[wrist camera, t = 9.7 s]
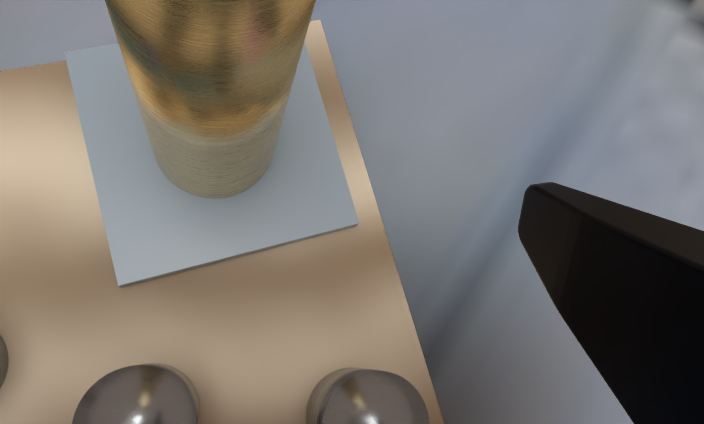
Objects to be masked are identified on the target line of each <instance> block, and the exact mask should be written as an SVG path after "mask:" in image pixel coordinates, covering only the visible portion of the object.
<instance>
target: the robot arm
mask: <svg viewBox="0 0 704 424" xmlns="http://www.w3.org/2000/svg"><path fill="white" fill-rule="evenodd" d="M518 233H519V237H520V240H521V242H522V244H523V246H524V248H525V250H526V252H527V254H528V256H529V258H530V259H531V261H532V263H533V265H534V267H535V269H536V271H537V273H538V275H539V276H540V278H541V280H542V282H543V284H544V286H545V288H546V290H547V292H548V293H549V295H550V297H551V299H552V301H553V303H554V304H555V306H556V308H557V310H558V311H559V313H560V314H561V316H562V318H563V319H564V321H565V322H566V324H567V325H568V327H569V328H570V330H571V331H572V333H573V334H574V336H575V337H576V339H577V340H578V341H579V343H580V344H581V346H582V347H583V349H584V350H585V352H586V353H587V355H588V356H589V358H590V359H591V361H592V362H593V364H594V365H595V367H596V368H597V370H598V371H599V373H600V374H601V375H602V377H603V378H604V380H605V381H606V383H607V384H608V386H609V387H610V389H611V390H612V392H613V393H614V395H615V396H616V398H617V399H618V401H619V402H620V404H621V405H622V407H623V408H624V410H625V411H626V412H627V414H628V415H629V417H630V418H631V420H632V421H633V423H634V424H704V231H702V230H698V229H695V228H692V227H689V226H686V225H683V224H680V223H677V222H674V221H671V220H668V219H665V218H661V217H658V216H655V215H652V214H649V213H646V212H643V211H640V210H637V209H634V208H631V207H628V206H624V205H621V204H618V203H615V202H612V201H609V200H606V199H603V198H600V197H597V196H594V195H591V194H587V193H584V192H581V191H578V190H575V189H572V188H569V187H566V186H563V185H560V184H557V183H553V182H546V183H540V184H533V185H530V186H529V187H528V188H527V189H526V191H525V194H524V199H523V204H522V209H521V214H520V219H519V225H518Z"/></svg>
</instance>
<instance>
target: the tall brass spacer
mask: <svg viewBox="0 0 704 424" xmlns="http://www.w3.org/2000/svg"><path fill="white" fill-rule="evenodd" d="M105 2H106V5H107V8H108V11H109V15H110V18H111V21H112V24H113V27H114V30H115V34H116V37H117V40H118V43H119V46H120V49H121V52H122V56H123V59H124V62H125V65H126V68H127V71H128V74H129V78H130V81H131V84H132V87H133V90H134V93H135V96H136V100H137V103H138V106H139V109H140V112H141V115H142V118H143V122H144V125H145V128H146V131H147V134H148V137H149V140H150V144H151V147H152V150H153V153H154V156H155V159H156V162H157V164H158V166H159V168H160V169H161V171H162V172H163V174H164V175H165V176H166V177H167V178H168V180H169V181H171V182H172V183H173V184H174V185H175V186H177V187H178V188H180V189H181V190H183V191H185V192H187V193H189V194H192V195H195V196H199V197H203V198H212V199H214V198H226V197H230V196H234V195H237V194H239V193H242V192H244V191H246V190H247V189H249V188H250V187H252V186H253V185H254V184H256V183H257V182H258V181H259V180H260V179H261V177H262V176H263V175H264V173H265V172H266V170H267V168H268V167H269V165H270V162H271V159H272V156H273V152H274V149H275V145H276V142H277V138H278V134H279V131H280V127H281V124H282V120H283V116H284V113H285V109H286V106H287V102H288V99H289V95H290V91H291V88H292V84H293V81H294V77H295V73H296V70H297V66H298V63H299V59H300V55H301V52H302V48H303V45H304V41H305V37H306V34H307V30H308V27H309V23H310V19H311V16H312V12H313V9H314V5H315V2H316V0H105Z"/></svg>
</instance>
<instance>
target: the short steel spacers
mask: <svg viewBox="0 0 704 424" xmlns="http://www.w3.org/2000/svg"><path fill="white" fill-rule="evenodd" d="M8 364H9V357H8V350H7V346H6V344H5V341H4V339H3V338H2V336H1V334H0V388H1V386H2V385H3V382H4V380H5V378H6V374H7V371H8ZM199 418H200V401H199V396H198V393H197V390H196V388H195V386H194V385H193V383H192V382H191V380H190V379H189V378H188V377H187V376H186V375H185V374H184V373H183V372H181V371H180V370H178V369H177V368H174V367H172V366H169V365H166V364H161V363H147V364H140V365H134V366H128V367H124V368H120V369H117V370H115V371H112V372H110V373H109V374H107V375H105V376H104V377H102V378H100V379H99V380H98V381H97V382H96V383H94V384H93V385H92V386H91V387H90V388H89V389H88V391H87V392H86V393H85V394H84V396H83V397H82V399H81V401H80V402H79V404H78V406H77V408H76V411H75V413H74V417H73V421H72V424H198V423H199ZM306 424H430V421H429V415H428V411H427V407H426V405H425V402H424V400H423V398H422V396H421V395H420V393H419V392H418V391H417V389H416V388H415V387H414V386H413V385H412V384H411V383H410V382H408V381H407V380H406V379H404V378H403V377H401V376H399V375H397V374H394V373H391V372H387V371H381V370H372V369H363V368H350V367H349V368H342V369H338V370H336V371H333V372H331V373H330V374H328V375H326V376H325V377H324V378H322V379H321V380H320V381H319V382H318V384H317V385H316V386H315V387H314V389H313V391H312V392H311V395H310V397H309V399H308V403H307V407H306Z"/></svg>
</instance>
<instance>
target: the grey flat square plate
mask: <svg viewBox="0 0 704 424" xmlns="http://www.w3.org/2000/svg"><path fill="white" fill-rule="evenodd" d="M64 53H65V57H66V62H67V66H68V70H69V75H70V79H71V83H72V88H73V92H74V96H75V101H76V105H77V109H78V114H79V118H80V122H81V127H82V131H83V135H84V140H85V144H86V148H87V153H88V157H89V161H90V166H91V170H92V174H93V179H94V183H95V187H96V192H97V196H98V200H99V205H100V209H101V213H102V218H103V222H104V227H105V231H106V235H107V240H108V244H109V248H110V253H111V257H112V261H113V266H114V270H115V274H116V279H117V283H118V286H119V287H121V288H122V287H126V286H130V285H134V284H137V283H141V282H145V281H149V280H153V279H157V278H160V277H164V276H168V275H172V274H176V273H180V272H183V271H187V270H191V269H195V268H199V267H203V266H206V265H210V264H214V263H218V262H222V261H226V260H229V259H233V258H237V257H241V256H245V255H249V254H252V253H256V252H260V251H264V250H268V249H272V248H276V247H279V246H283V245H287V244H291V243H295V242H299V241H302V240H306V239H310V238H314V237H318V236H322V235H325V234H329V233H333V232H337V231H341V230H345V229H348V228H352V227H356V226H357V225H358V224H359V220H358V217H357V213H356V210H355V207H354V204H353V200H352V197H351V194H350V190H349V187H348V184H347V180H346V177H345V174H344V170H343V167H342V164H341V160H340V157H339V154H338V150H337V147H336V144H335V141H334V137H333V134H332V131H331V127H330V124H329V121H328V117H327V114H326V111H325V107H324V104H323V101H322V97H321V94H320V91H319V88H318V84H317V81H316V78H315V74H314V71H313V68H312V64H311V61H310V58H309V54H308V51H307V48H306V44H305V41H304V45H303V48H302V52H301V55H300V59H299V63H298V66H297V70H296V73H295V77H294V81H293V84H292V88H291V91H290V95H289V99H288V102H287V106H286V109H285V113H284V116H283V120H282V124H281V127H280V131H279V134H278V138H277V142H276V145H275V149H274V152H273V156H272V159H271V162H270V165H269V167H268V168H267V170H266V172H265V173H264V175H263V176H262V177H261V179H260V180H259V181H258V182H257V183H256V184H254V185H253V186H252V187H250V188H249V189H247V190H246V191H244V192H242V193H239V194H237V195H234V196H230V197H226V198H214V199H212V198H203V197H199V196H195V195H192V194H189V193H187V192H185V191H183V190H181V189H180V188H178V187H177V186H175V185H174V184H173V183H172V182H171V181H169V180H168V178H167V177H166V176H165V175H164V174H163V172H162V171H161V169H160V168H159V166H158V164H157V162H156V159H155V156H154V153H153V150H152V147H151V144H150V140H149V137H148V134H147V131H146V128H145V125H144V122H143V118H142V115H141V112H140V109H139V106H138V103H137V100H136V96H135V93H134V90H133V87H132V84H131V81H130V78H129V74H128V71H127V68H126V65H125V62H124V59H123V56H122V52H121V49H120V46H119V43H118V44H111V45H105V46H98V47H92V48H86V49H79V50H73V51H67V52H64Z"/></svg>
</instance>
